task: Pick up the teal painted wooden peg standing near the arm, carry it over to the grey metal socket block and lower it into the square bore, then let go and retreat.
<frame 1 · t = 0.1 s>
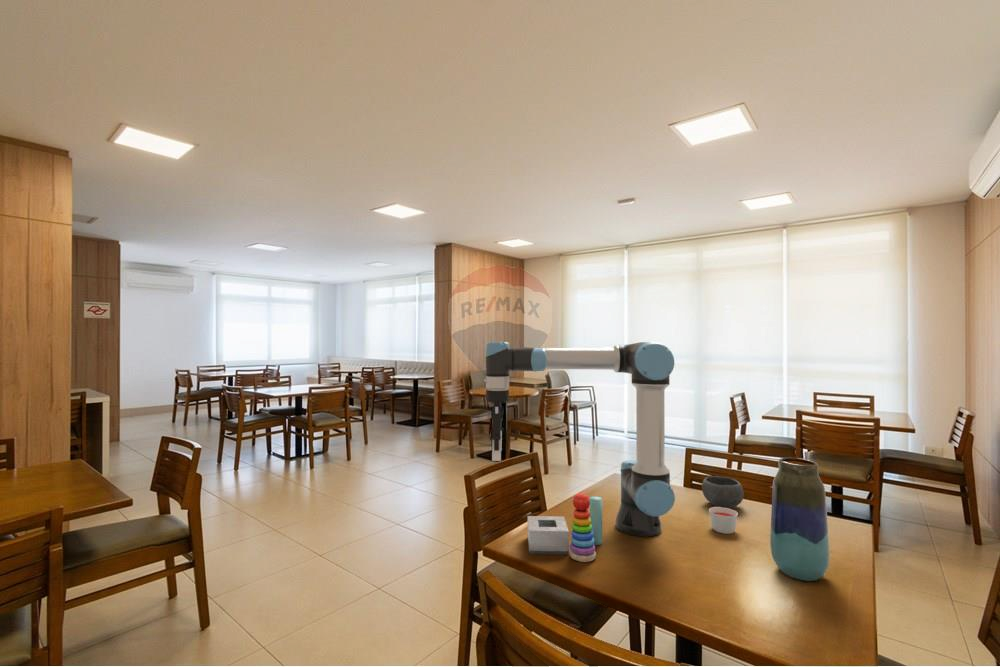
hand: (497, 455, 147), 28 cm above the table, fingers open, 13 cm apart
candle: (723, 530, 158), on the table
vase: (799, 574, 127), on the table
peg: (596, 542, 147), on the table
bowl: (722, 506, 181), on the table
socket block: (547, 545, 145), on the table
stacking toy: (582, 557, 137), on the table
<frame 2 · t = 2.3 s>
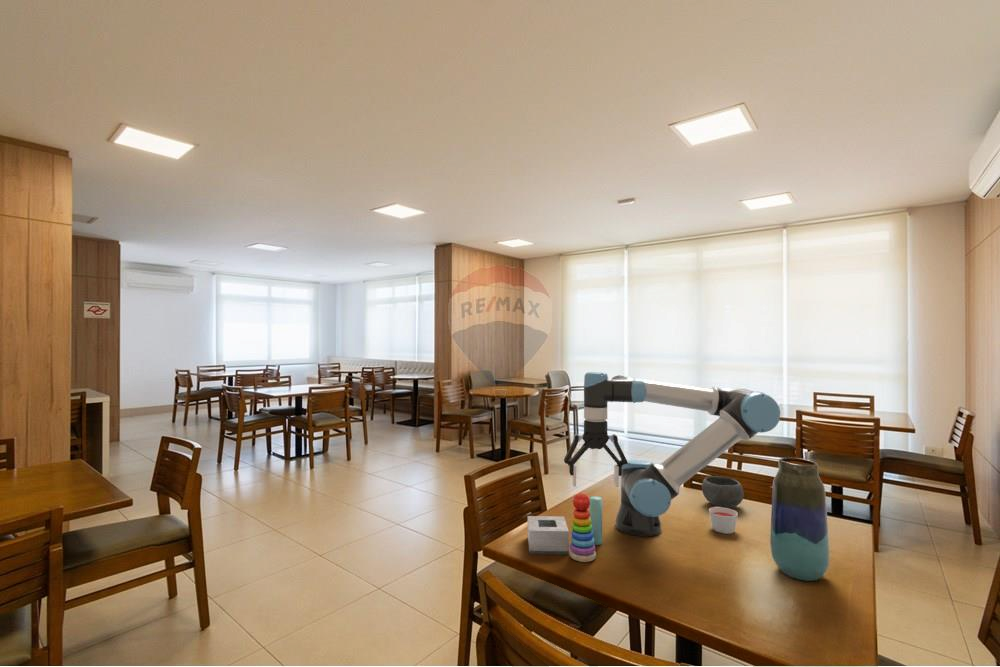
hand: (595, 485, 148), 18 cm above the table, fingers open, 13 cm apart
nothing on the table moved.
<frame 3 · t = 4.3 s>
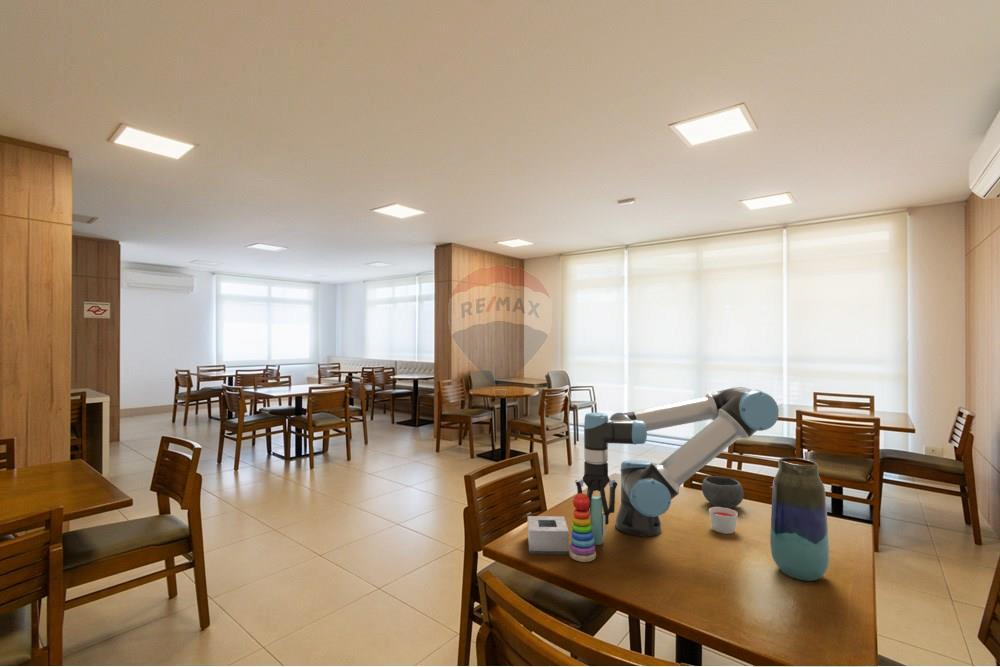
hand: (596, 533, 147), 3 cm above the table, fingers closed on peg, 4 cm apart
peg: (596, 542, 147), on the table, touching gripper
everything else where it was.
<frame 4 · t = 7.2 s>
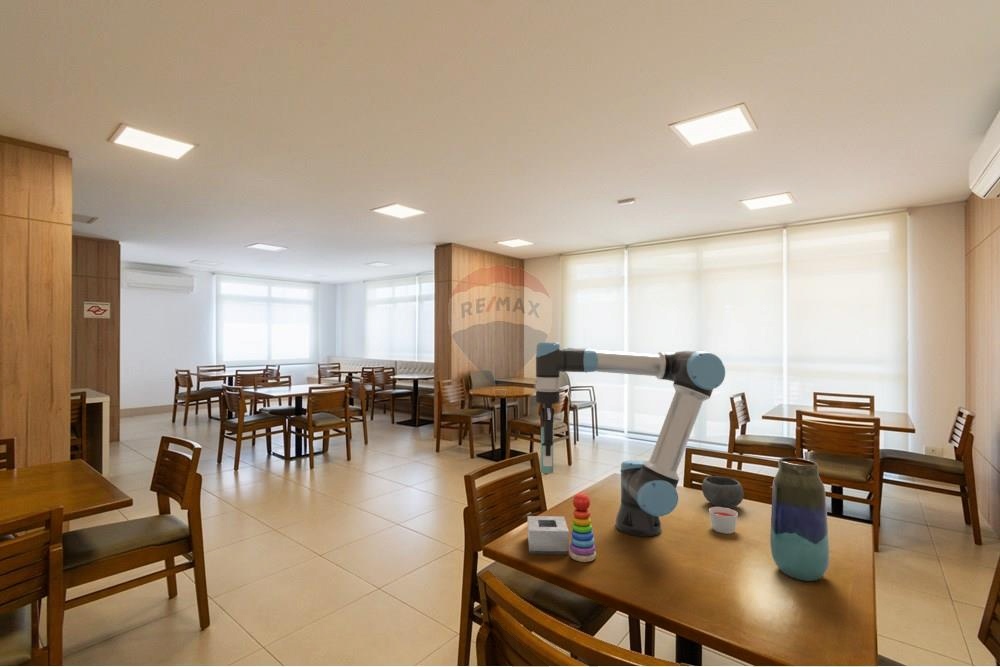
hand: (547, 463, 145), 26 cm above the table, fingers closed on peg, 4 cm apart
peg: (546, 471, 145), point 23 cm above the table, touching gripper
everything else where it was.
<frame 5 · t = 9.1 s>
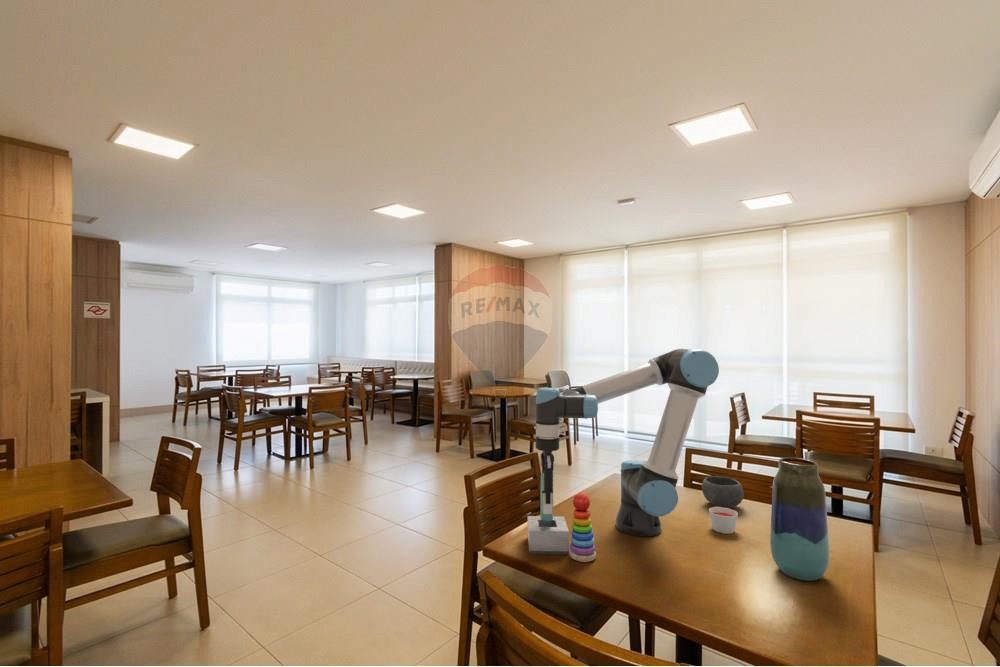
hand: (546, 510, 145), 11 cm above the table, fingers closed on peg, 4 cm apart
peg: (546, 518, 145), point 8 cm above the table, touching gripper
everything else where it was.
when the fingers open (8 cm above the table, at t = 10.4 s): peg drops 3 cm, resting on socket block.
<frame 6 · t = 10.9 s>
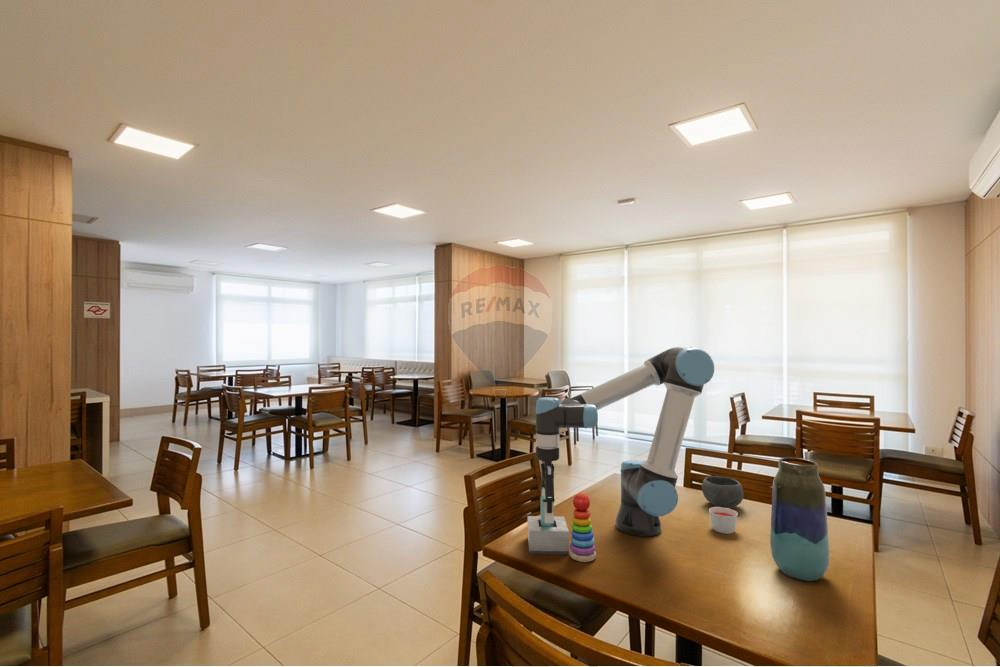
hand: (547, 515, 145), 10 cm above the table, fingers open, 12 cm apart
peg: (547, 541, 145), point 1 cm above the table, touching socket block
everything else where it was.
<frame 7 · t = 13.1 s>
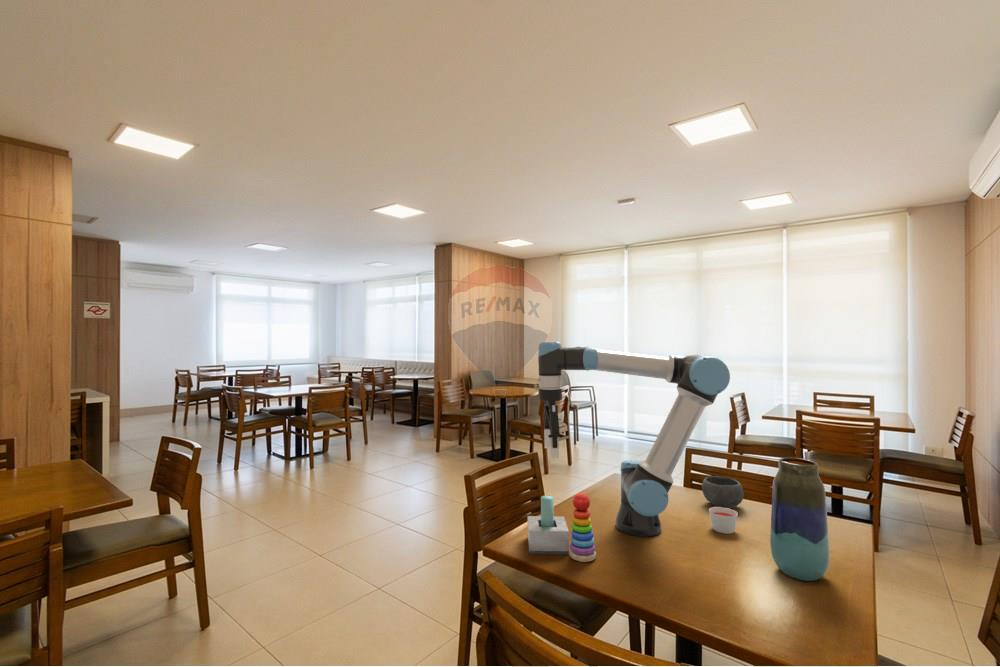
hand: (551, 452, 150), 28 cm above the table, fingers open, 13 cm apart
nothing on the table moved.
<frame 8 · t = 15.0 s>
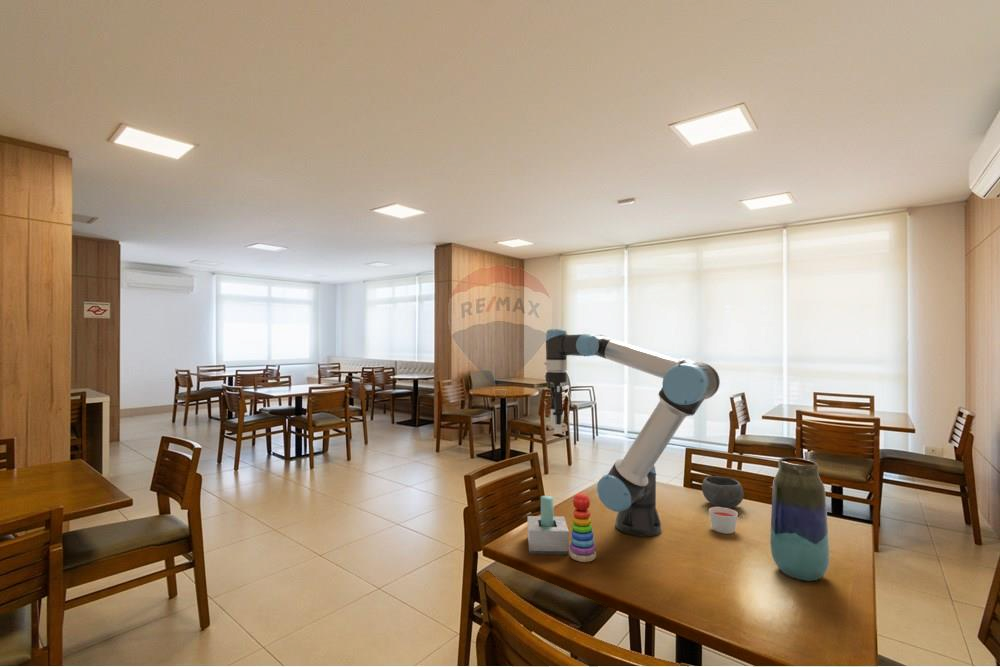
hand: (556, 429, 166), 33 cm above the table, fingers open, 13 cm apart
nothing on the table moved.
at the end: peg 0.3 cm off-centre on the socket block, point 1.0 cm above the socket block's base; peg tilted 0°; the gripper is holding nothing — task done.
